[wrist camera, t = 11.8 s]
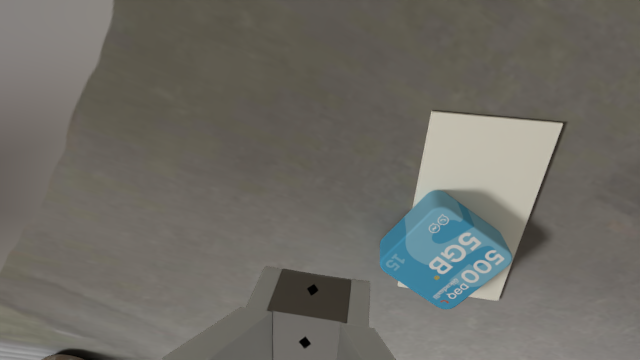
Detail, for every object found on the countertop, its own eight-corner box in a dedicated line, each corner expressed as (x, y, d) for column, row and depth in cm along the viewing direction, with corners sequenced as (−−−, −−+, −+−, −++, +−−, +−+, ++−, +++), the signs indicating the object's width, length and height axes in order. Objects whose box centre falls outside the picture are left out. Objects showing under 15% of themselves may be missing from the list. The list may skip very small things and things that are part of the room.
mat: (561, 122, 39) (563, 123, 39) (497, 298, 51) (498, 300, 50) (431, 110, 41) (432, 111, 41) (397, 283, 52) (397, 286, 52)
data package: (440, 202, 40) (519, 258, 42) (435, 184, 44) (507, 236, 46) (374, 266, 46) (446, 314, 47) (375, 245, 50) (441, 289, 51)
